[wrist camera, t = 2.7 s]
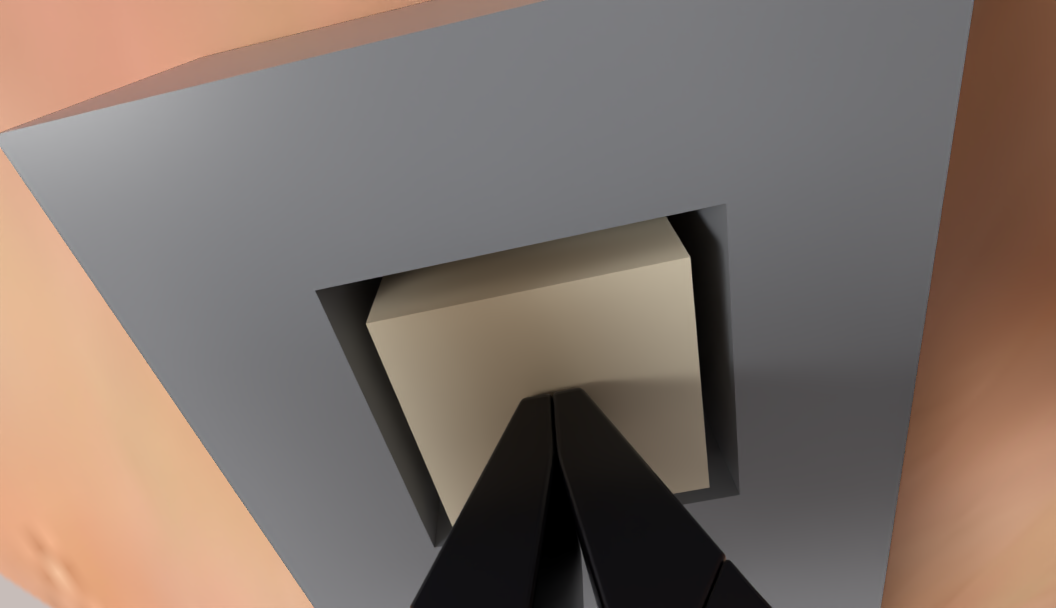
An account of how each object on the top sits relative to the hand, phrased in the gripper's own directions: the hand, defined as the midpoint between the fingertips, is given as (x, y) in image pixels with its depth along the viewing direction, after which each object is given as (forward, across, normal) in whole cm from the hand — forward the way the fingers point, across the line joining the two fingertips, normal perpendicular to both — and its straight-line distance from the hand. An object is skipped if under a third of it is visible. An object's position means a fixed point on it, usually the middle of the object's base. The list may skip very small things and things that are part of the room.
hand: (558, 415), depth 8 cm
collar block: (+5, 0, +6) cm, 8 cm away
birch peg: (+5, 0, 0) cm, 5 cm away
